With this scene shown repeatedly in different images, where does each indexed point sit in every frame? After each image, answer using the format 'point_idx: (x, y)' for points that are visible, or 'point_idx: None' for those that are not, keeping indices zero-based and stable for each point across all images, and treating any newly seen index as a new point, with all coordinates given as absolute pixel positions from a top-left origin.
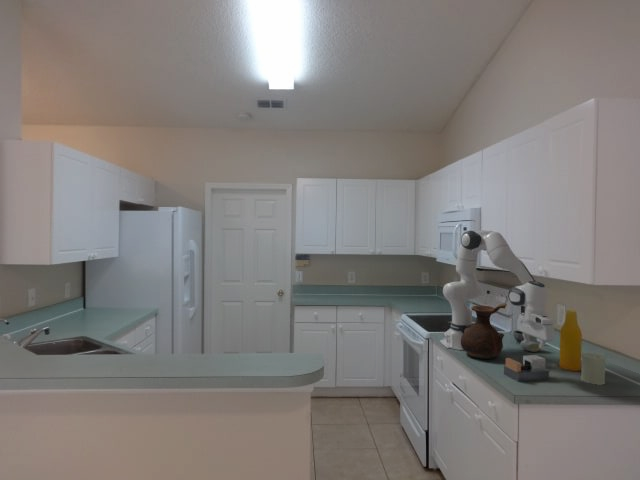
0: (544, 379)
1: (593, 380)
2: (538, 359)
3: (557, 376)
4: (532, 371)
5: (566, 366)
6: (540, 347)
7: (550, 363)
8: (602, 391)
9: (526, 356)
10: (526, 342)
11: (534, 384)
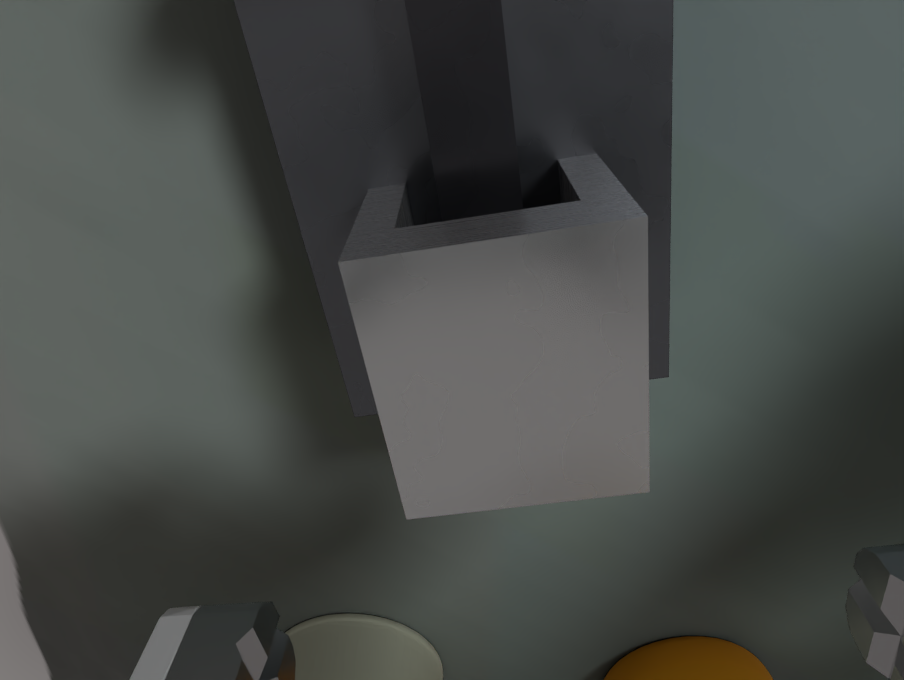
0: None
1: None
2: (374, 395)
3: None
4: (306, 161)
5: (649, 676)
6: (173, 629)
7: None
8: (108, 608)
9: (576, 259)
10: (872, 553)
11: (154, 58)
